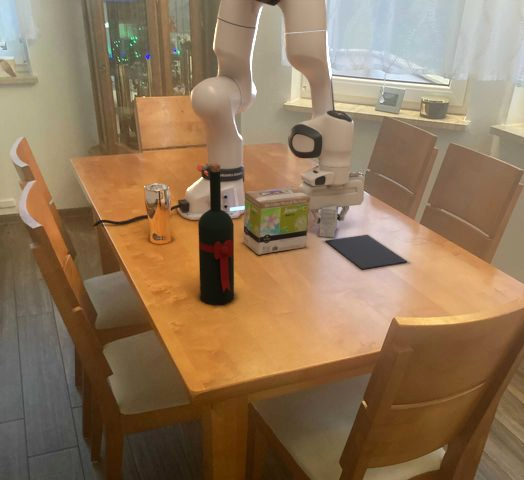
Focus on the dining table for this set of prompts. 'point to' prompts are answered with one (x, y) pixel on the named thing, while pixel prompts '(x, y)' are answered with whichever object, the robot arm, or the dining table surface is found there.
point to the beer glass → (158, 212)
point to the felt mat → (365, 252)
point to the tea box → (275, 219)
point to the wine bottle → (216, 248)
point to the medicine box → (328, 221)
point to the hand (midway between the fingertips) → (328, 221)
